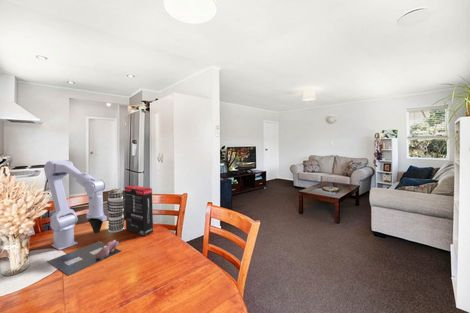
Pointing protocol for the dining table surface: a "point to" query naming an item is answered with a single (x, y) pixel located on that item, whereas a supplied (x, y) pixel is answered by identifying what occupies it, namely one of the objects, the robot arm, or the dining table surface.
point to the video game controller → (107, 249)
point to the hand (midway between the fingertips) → (96, 232)
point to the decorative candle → (115, 210)
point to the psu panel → (80, 258)
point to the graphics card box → (139, 209)
